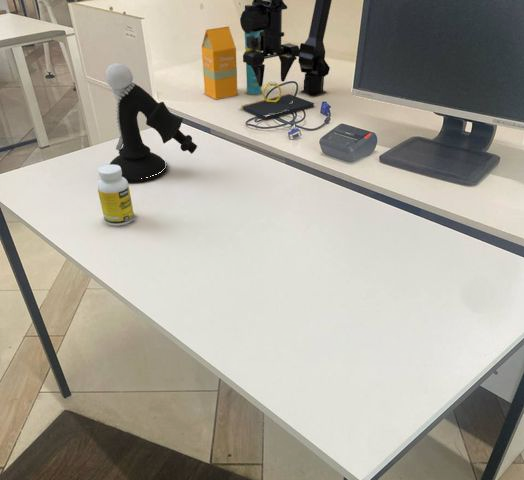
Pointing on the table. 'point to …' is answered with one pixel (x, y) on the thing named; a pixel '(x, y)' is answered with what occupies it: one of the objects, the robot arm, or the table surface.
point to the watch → (272, 85)
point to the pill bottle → (114, 195)
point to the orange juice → (219, 63)
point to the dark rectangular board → (277, 106)
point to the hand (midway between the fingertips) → (271, 83)
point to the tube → (251, 78)
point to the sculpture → (158, 117)
